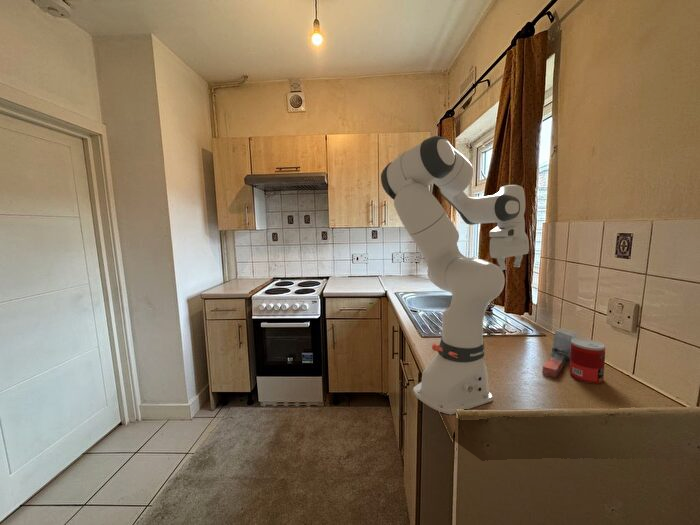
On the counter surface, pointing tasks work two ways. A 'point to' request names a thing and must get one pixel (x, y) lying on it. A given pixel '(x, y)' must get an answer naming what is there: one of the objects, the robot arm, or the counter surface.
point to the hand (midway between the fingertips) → (510, 268)
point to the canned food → (587, 360)
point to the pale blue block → (564, 339)
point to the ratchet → (555, 363)
